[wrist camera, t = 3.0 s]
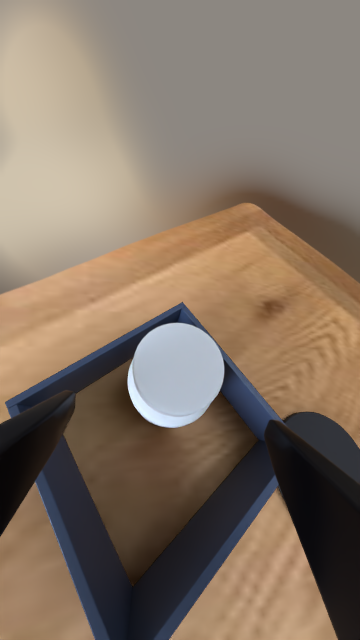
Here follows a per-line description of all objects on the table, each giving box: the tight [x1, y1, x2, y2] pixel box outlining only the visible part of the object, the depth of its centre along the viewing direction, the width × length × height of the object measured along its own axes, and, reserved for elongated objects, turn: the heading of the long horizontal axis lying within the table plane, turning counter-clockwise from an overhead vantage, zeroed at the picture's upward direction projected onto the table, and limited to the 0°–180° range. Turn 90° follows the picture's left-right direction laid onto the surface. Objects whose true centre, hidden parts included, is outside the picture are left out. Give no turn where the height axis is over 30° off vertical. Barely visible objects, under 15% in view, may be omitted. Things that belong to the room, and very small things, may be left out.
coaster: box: [278, 412, 360, 498], centre depth 17 cm, size 9×9×1 cm
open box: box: [5, 302, 285, 640], centre depth 15 cm, size 14×14×5 cm
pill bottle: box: [128, 323, 224, 428], centre depth 14 cm, size 6×6×10 cm
